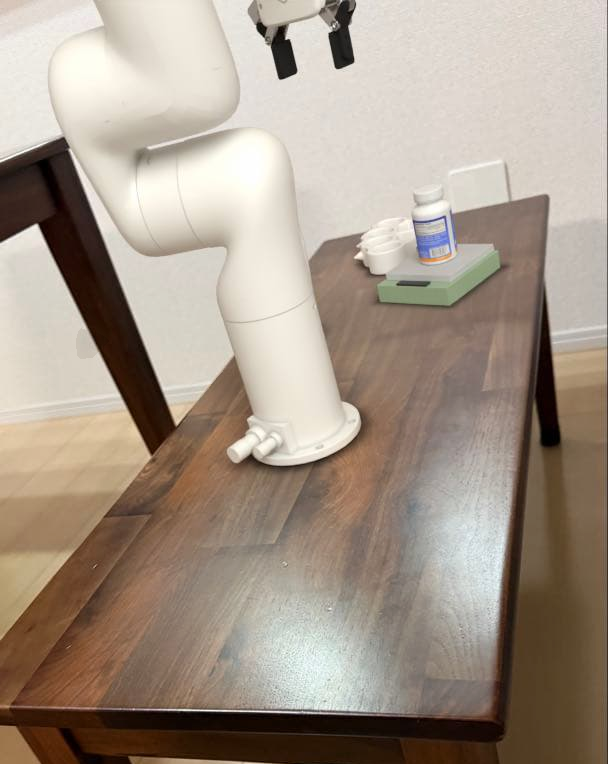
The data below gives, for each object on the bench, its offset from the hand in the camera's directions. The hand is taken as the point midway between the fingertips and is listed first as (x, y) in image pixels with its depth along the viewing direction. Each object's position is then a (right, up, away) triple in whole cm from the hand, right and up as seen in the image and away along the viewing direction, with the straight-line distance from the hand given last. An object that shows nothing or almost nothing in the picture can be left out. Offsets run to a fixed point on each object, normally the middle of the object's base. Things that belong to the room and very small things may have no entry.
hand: (316, 71), depth 106 cm
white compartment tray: (+14, -12, +31) cm, 36 cm away
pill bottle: (+18, -19, +13) cm, 29 cm away
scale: (+18, -22, +15) cm, 32 cm away
